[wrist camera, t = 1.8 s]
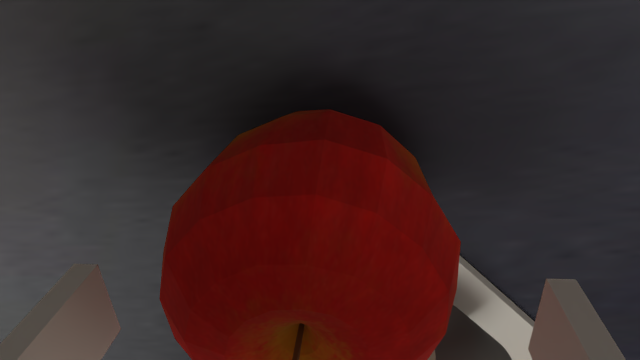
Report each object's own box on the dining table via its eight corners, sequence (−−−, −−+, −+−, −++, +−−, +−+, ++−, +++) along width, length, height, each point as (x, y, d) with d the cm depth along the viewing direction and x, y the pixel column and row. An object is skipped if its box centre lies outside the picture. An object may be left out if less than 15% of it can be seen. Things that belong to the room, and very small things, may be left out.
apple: (214, 211, 22) (83, 454, 12) (250, 38, 18) (89, 181, 7) (386, 261, 23) (404, 533, 12) (461, 105, 18) (588, 325, 8)
